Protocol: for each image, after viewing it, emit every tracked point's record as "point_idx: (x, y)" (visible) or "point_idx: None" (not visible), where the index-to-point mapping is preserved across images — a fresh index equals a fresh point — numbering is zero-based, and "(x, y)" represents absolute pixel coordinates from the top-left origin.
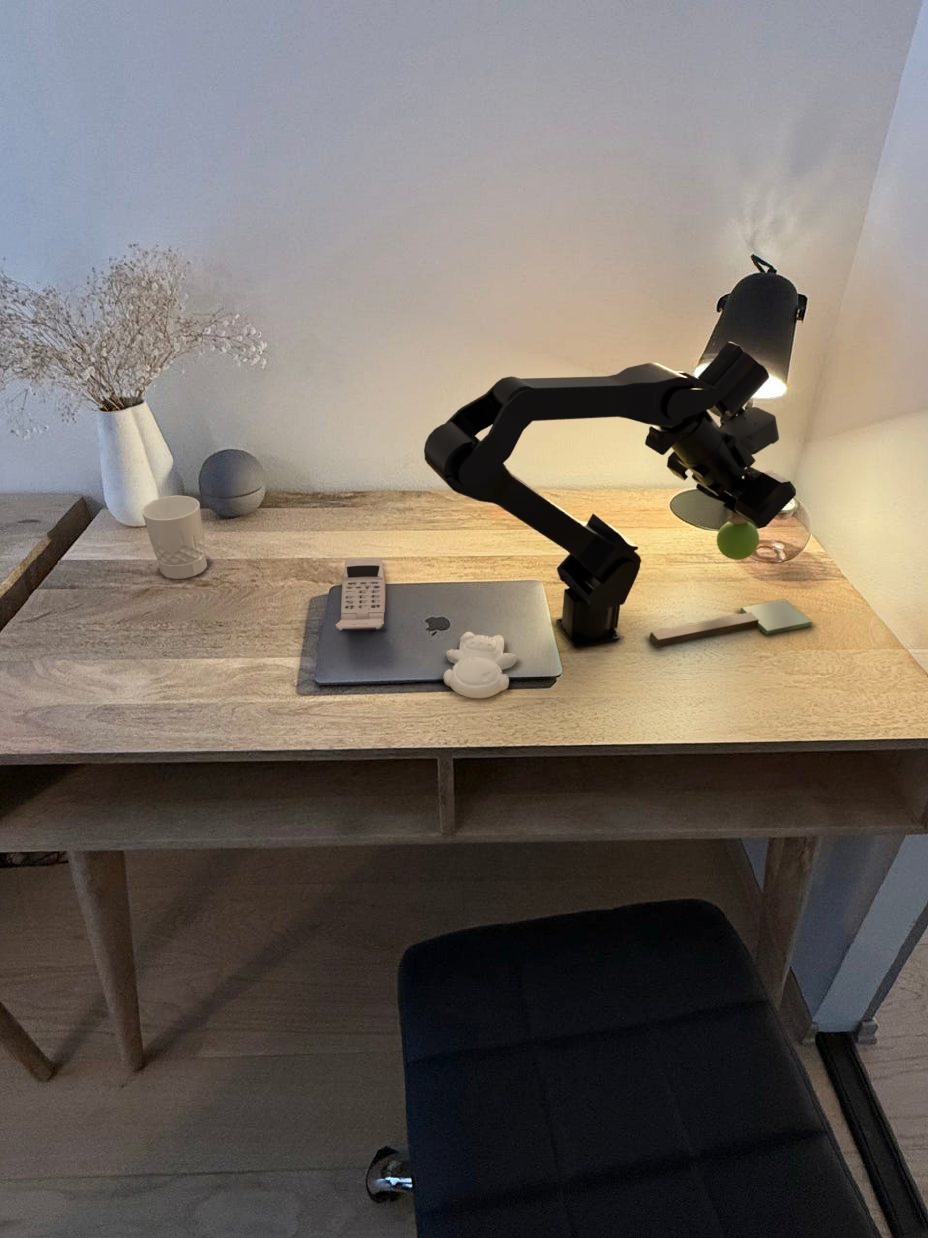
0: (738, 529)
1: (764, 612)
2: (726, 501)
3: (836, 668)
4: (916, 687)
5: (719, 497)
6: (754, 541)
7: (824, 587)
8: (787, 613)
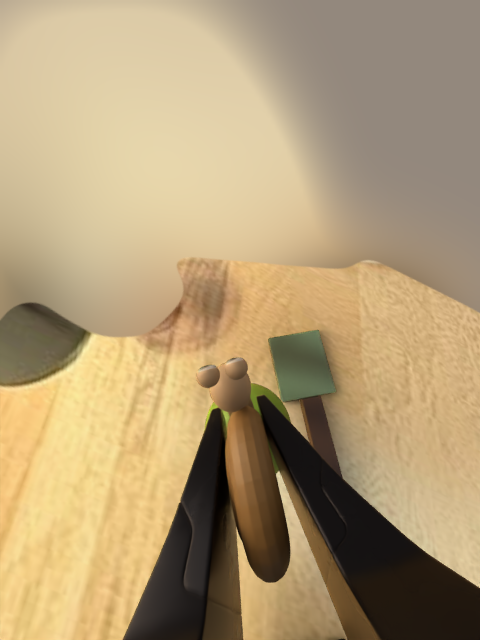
0: (273, 459)
1: (296, 376)
2: (236, 556)
3: (394, 342)
4: (420, 284)
5: (239, 633)
6: (286, 411)
7: (241, 280)
8: (300, 349)
